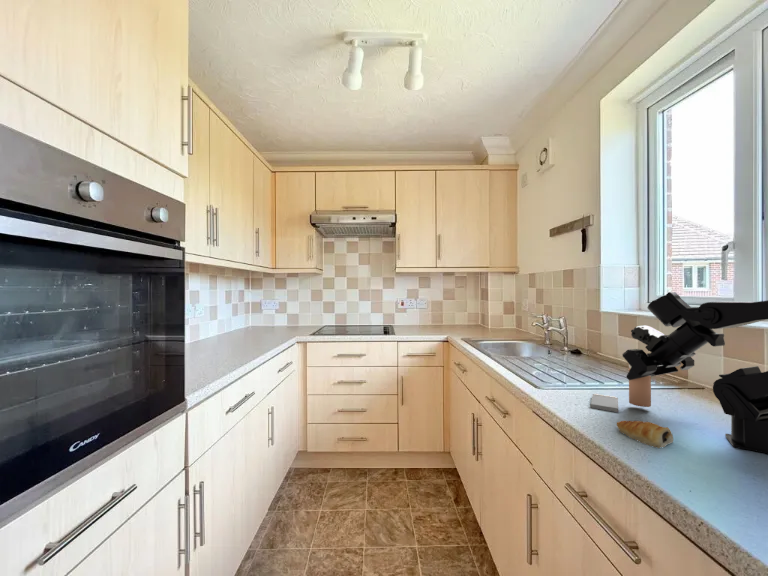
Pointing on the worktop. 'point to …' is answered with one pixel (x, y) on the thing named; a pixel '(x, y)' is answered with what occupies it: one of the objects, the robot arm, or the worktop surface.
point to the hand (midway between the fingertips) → (634, 377)
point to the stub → (640, 391)
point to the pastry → (646, 432)
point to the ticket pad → (604, 402)
